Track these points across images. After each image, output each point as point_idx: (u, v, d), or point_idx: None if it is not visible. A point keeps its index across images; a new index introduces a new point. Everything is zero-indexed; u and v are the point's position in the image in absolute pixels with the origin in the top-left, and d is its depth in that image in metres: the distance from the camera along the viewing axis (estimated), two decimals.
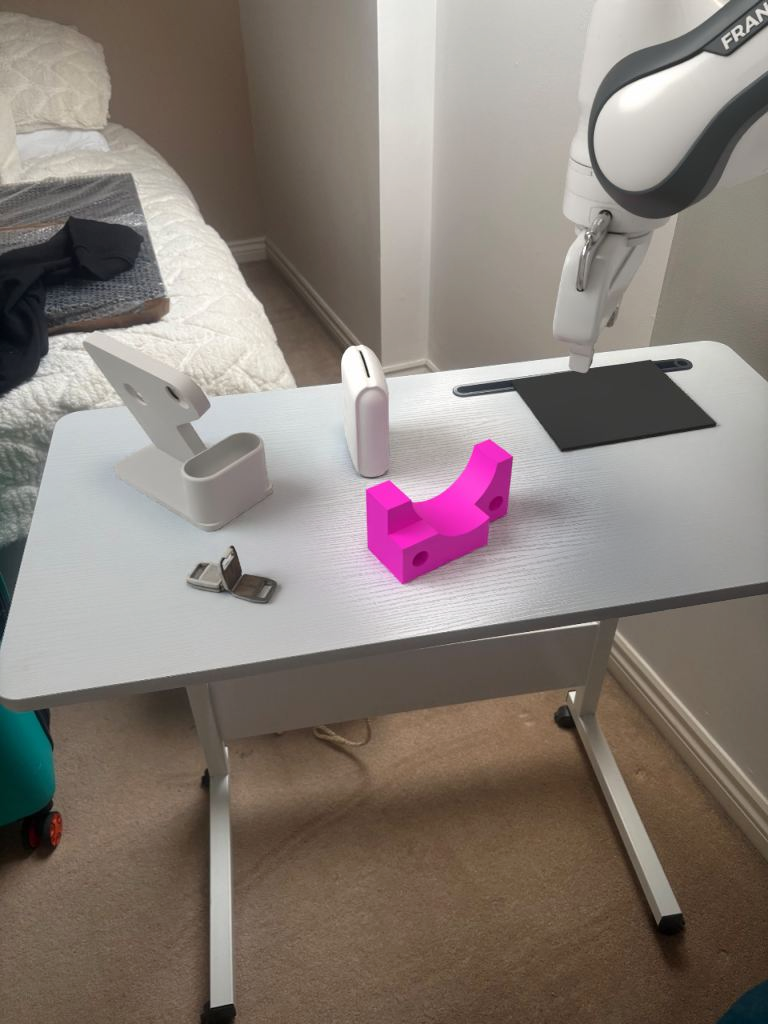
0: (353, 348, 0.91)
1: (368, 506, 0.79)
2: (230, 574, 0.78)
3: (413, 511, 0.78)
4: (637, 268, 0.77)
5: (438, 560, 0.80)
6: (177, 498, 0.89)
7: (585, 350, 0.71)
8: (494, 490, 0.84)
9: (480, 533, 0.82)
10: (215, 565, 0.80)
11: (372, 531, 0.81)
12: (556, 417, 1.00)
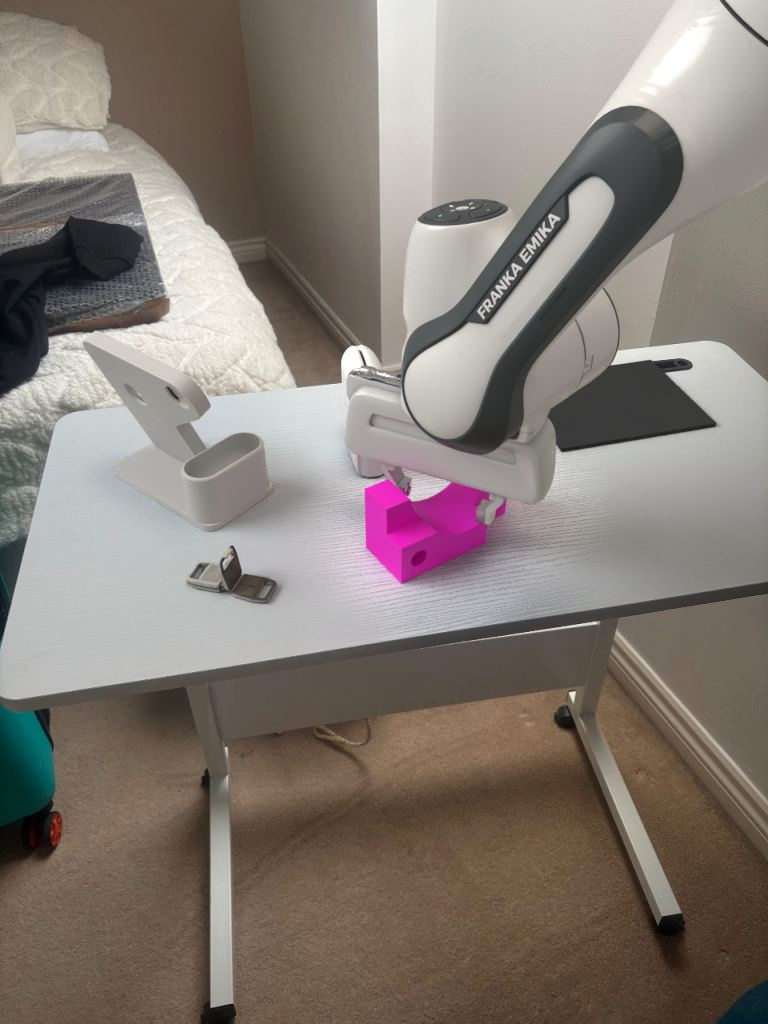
0: (353, 348, 0.91)
1: (367, 505, 0.79)
2: (230, 574, 0.78)
3: (412, 510, 0.78)
4: (497, 490, 0.76)
5: (436, 559, 0.81)
6: (177, 498, 0.89)
7: None
8: None
9: (478, 532, 0.82)
10: (215, 565, 0.80)
11: (370, 530, 0.81)
12: (556, 417, 1.00)
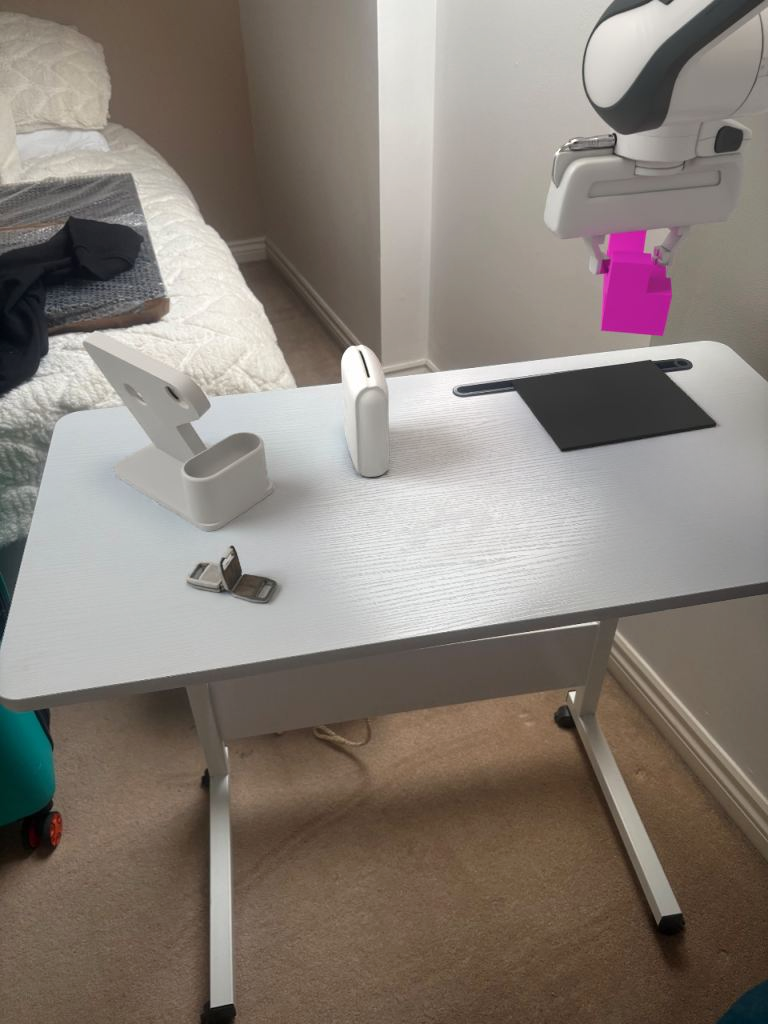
0: (353, 348, 0.91)
1: (614, 278, 0.82)
2: (230, 574, 0.78)
3: None
4: (700, 218, 0.85)
5: None
6: (177, 498, 0.89)
7: (592, 252, 0.86)
8: None
9: None
10: (215, 565, 0.80)
11: (614, 305, 0.84)
12: (556, 417, 1.00)
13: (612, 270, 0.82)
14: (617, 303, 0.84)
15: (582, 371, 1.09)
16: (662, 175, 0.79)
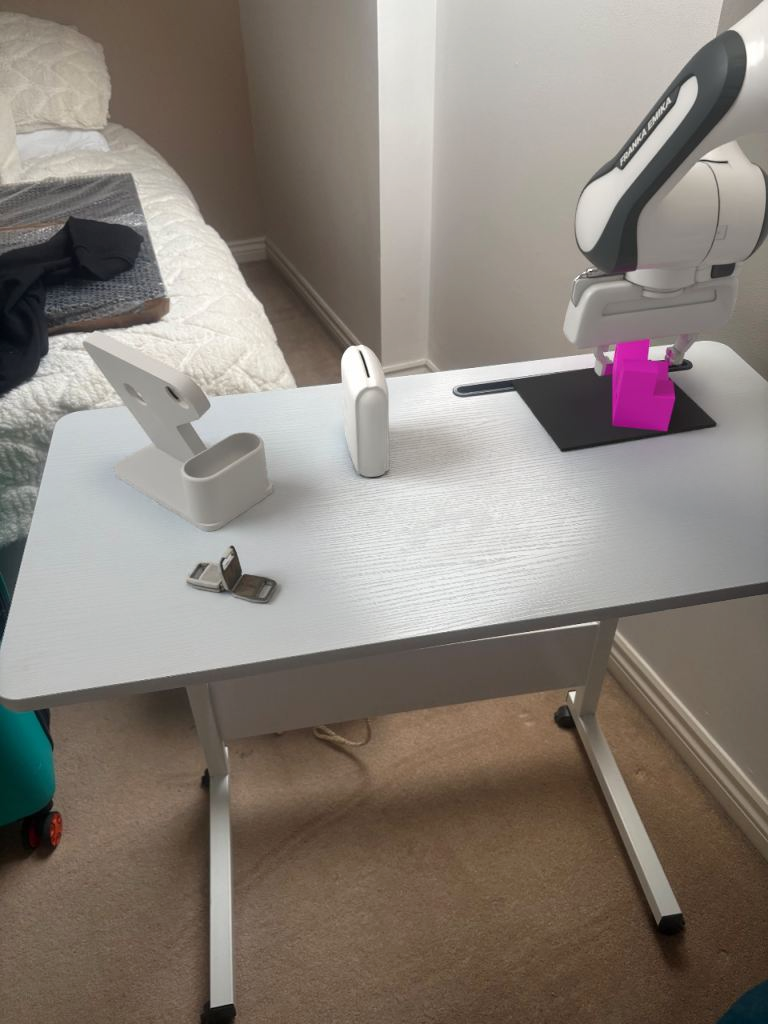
0: (353, 348, 0.91)
1: (625, 383, 0.95)
2: (230, 574, 0.78)
3: None
4: (698, 327, 0.97)
5: None
6: (177, 498, 0.89)
7: (598, 358, 0.98)
8: None
9: None
10: (215, 565, 0.80)
11: (625, 405, 0.97)
12: (556, 417, 1.00)
13: (623, 377, 0.95)
14: (627, 404, 0.97)
15: (582, 371, 1.09)
16: (666, 297, 0.92)
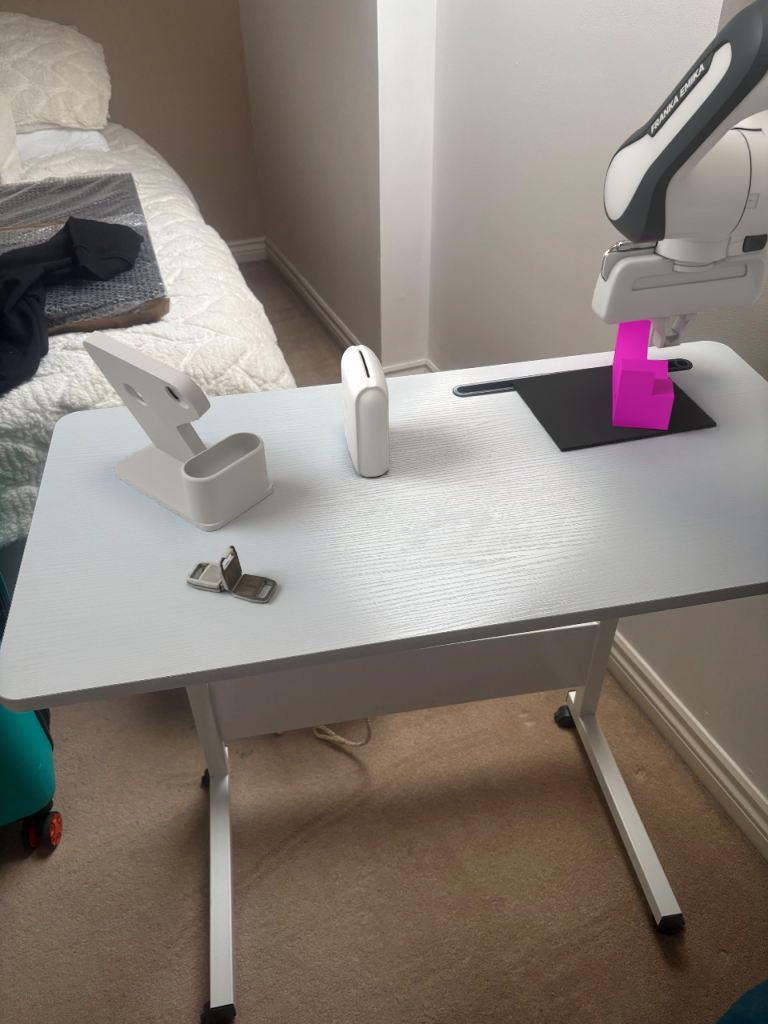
0: (353, 348, 0.91)
1: (623, 383, 0.95)
2: (230, 574, 0.78)
3: None
4: (728, 303, 0.96)
5: None
6: (177, 498, 0.89)
7: (657, 330, 0.98)
8: None
9: None
10: (215, 565, 0.80)
11: (624, 405, 0.97)
12: (556, 417, 1.00)
13: (621, 377, 0.95)
14: (626, 403, 0.97)
15: (582, 371, 1.09)
16: (697, 271, 0.91)
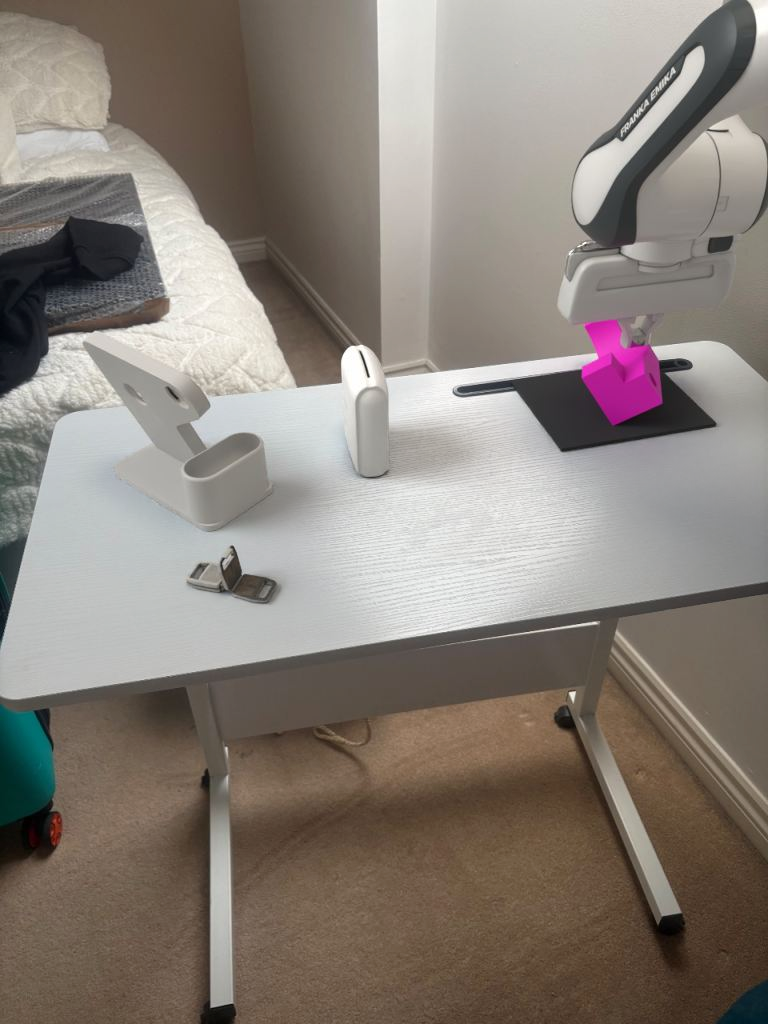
0: (353, 348, 0.91)
1: (592, 387, 0.96)
2: (230, 574, 0.78)
3: (617, 361, 0.97)
4: (695, 304, 0.96)
5: (657, 378, 0.98)
6: (177, 498, 0.89)
7: (624, 330, 0.97)
8: None
9: (651, 351, 1.02)
10: (215, 565, 0.80)
11: (608, 404, 0.97)
12: (556, 417, 1.00)
13: (586, 383, 0.96)
14: (608, 401, 0.97)
15: None
16: (662, 272, 0.90)
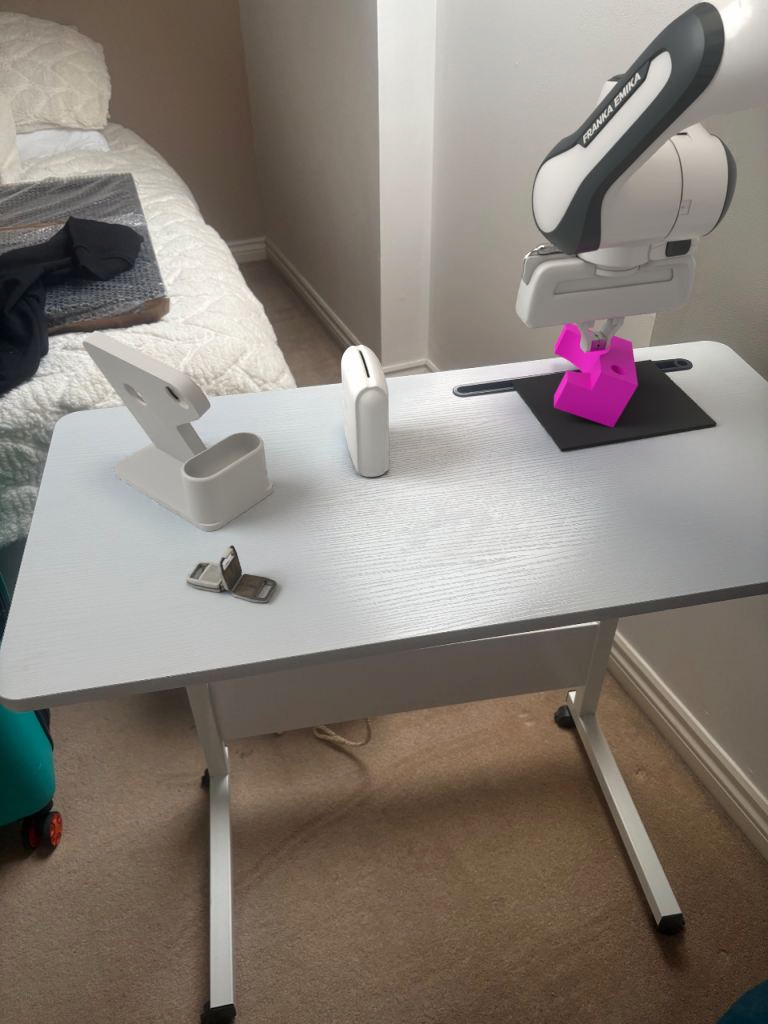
0: (353, 348, 0.91)
1: (569, 408, 0.98)
2: (230, 574, 0.78)
3: (578, 373, 0.98)
4: (655, 308, 0.95)
5: (627, 364, 0.98)
6: (177, 498, 0.89)
7: (583, 334, 0.96)
8: None
9: (617, 340, 1.01)
10: (215, 565, 0.80)
11: (593, 413, 0.98)
12: (556, 417, 1.00)
13: (561, 408, 0.98)
14: (592, 411, 0.98)
15: None
16: (619, 276, 0.89)
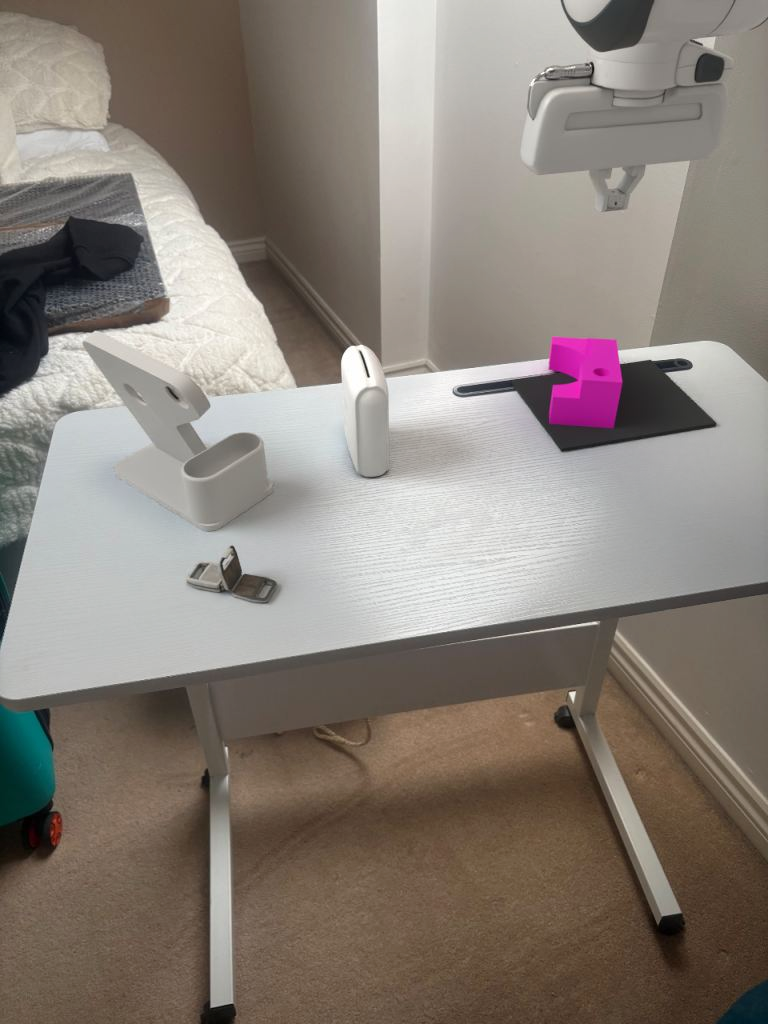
0: (353, 348, 0.91)
1: (564, 421, 0.99)
2: (230, 574, 0.78)
3: (565, 384, 0.99)
4: (681, 154, 0.82)
5: (611, 363, 0.98)
6: (177, 498, 0.89)
7: (599, 188, 0.84)
8: (578, 345, 1.06)
9: (600, 342, 1.02)
10: (215, 565, 0.80)
11: (589, 419, 0.98)
12: None
13: (557, 423, 0.99)
14: (587, 418, 0.98)
15: None
16: (641, 106, 0.77)
